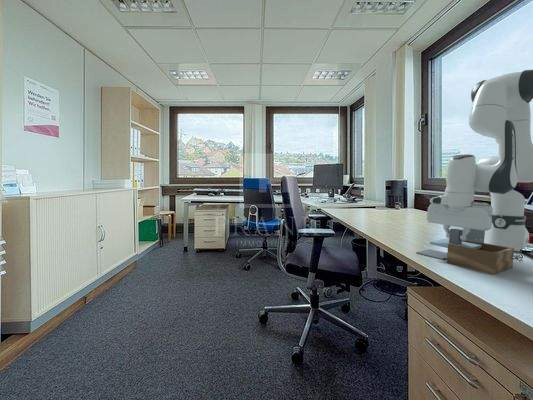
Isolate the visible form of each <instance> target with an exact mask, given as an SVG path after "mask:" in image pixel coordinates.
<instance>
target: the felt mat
mask: <svg viewBox="0 0 533 400" xmlns="http://www.w3.org/2000/svg"><path fill="white" fill-rule="evenodd" d="M415 254H418V255H422V256H425V257H429V258H433V259H437V260H442V261H444V260H447V252H446V251H442V250H441V251H440V250H437V249H436V250H435V249H430V248H429V249H425V250H421V251H417V252H415Z"/></svg>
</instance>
